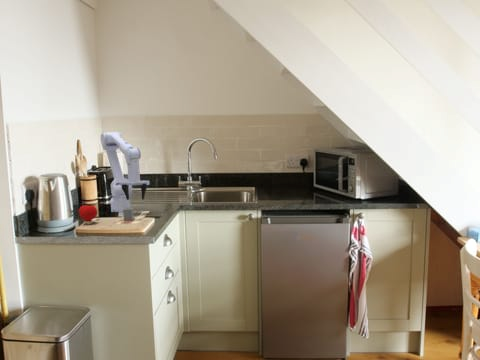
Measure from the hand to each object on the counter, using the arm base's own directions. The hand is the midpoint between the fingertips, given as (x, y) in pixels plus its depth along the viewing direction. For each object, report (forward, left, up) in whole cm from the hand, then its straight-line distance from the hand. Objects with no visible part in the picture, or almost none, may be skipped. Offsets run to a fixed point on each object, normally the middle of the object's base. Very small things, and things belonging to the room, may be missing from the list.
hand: (135, 199), depth 221 cm
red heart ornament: (-19, -15, -10) cm, 26 cm away
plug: (-1, -11, -10) cm, 14 cm away
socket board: (-1, -5, -9) cm, 11 cm away
